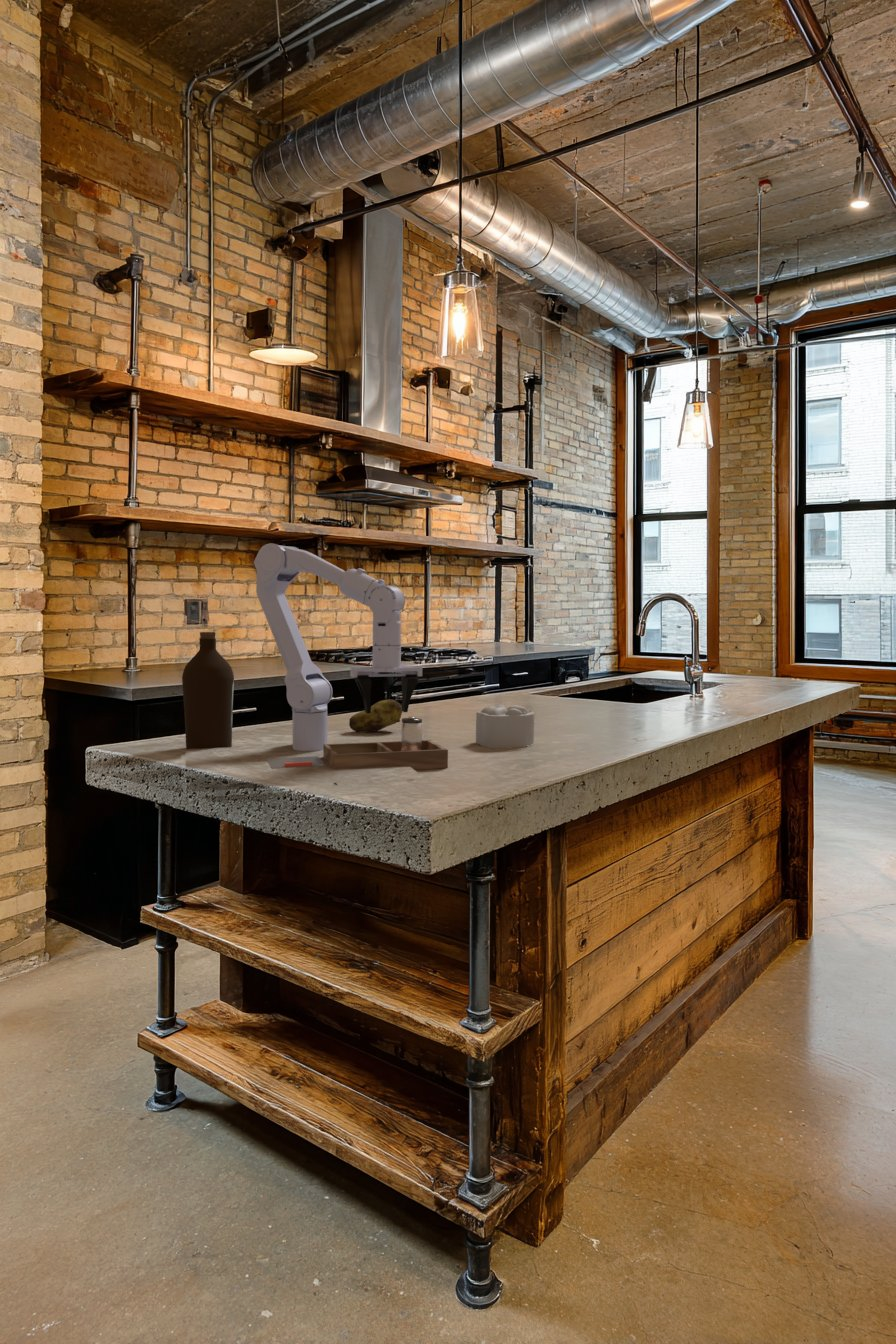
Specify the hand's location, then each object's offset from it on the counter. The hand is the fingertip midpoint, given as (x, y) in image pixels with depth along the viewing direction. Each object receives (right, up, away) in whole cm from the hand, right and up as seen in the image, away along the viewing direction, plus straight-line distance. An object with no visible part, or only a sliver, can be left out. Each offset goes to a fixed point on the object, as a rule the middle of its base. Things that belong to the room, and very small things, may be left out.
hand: (386, 712), depth 169 cm
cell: (+5, -9, -5) cm, 11 cm away
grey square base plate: (-17, -10, -10) cm, 22 cm away
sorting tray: (0, -10, -7) cm, 12 cm away
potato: (-5, -7, +36) cm, 37 cm away
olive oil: (-39, -9, +9) cm, 41 cm away
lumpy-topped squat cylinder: (+26, -8, +20) cm, 34 cm away
